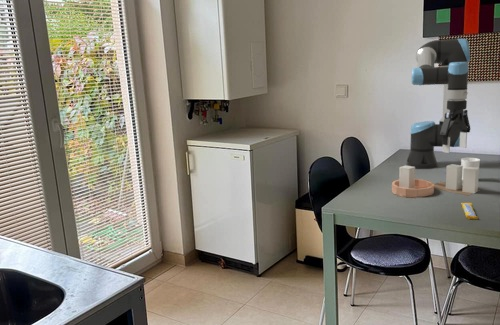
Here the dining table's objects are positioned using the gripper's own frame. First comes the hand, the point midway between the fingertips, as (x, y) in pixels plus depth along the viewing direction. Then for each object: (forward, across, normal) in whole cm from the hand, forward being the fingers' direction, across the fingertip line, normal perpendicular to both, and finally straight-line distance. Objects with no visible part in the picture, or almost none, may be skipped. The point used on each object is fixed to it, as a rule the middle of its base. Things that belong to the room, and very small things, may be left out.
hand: (454, 149), depth 195 cm
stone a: (+17, -15, +13) cm, 26 cm away
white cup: (+18, +18, +2) cm, 26 cm away
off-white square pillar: (+17, 0, -7) cm, 19 cm away
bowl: (+18, -15, +10) cm, 25 cm away
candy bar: (+18, -23, -19) cm, 35 cm away
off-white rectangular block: (+17, 0, 0) cm, 17 cm away
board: (+18, 0, 0) cm, 18 cm away
